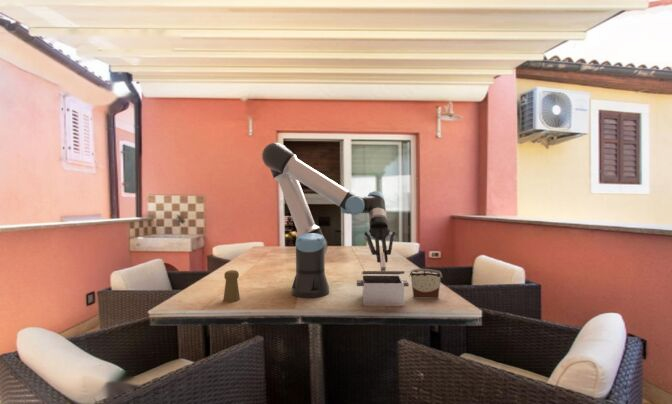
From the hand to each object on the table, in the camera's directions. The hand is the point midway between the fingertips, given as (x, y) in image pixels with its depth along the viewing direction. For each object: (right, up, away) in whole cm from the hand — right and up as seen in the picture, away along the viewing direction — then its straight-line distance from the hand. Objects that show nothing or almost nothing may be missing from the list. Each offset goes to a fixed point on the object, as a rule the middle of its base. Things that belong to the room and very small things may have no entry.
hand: (383, 269), depth 119 cm
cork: (-57, -12, +2) cm, 58 cm away
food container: (+17, -12, +6) cm, 22 cm away
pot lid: (0, -2, 0) cm, 2 cm away
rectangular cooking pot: (0, -12, 0) cm, 12 cm away
